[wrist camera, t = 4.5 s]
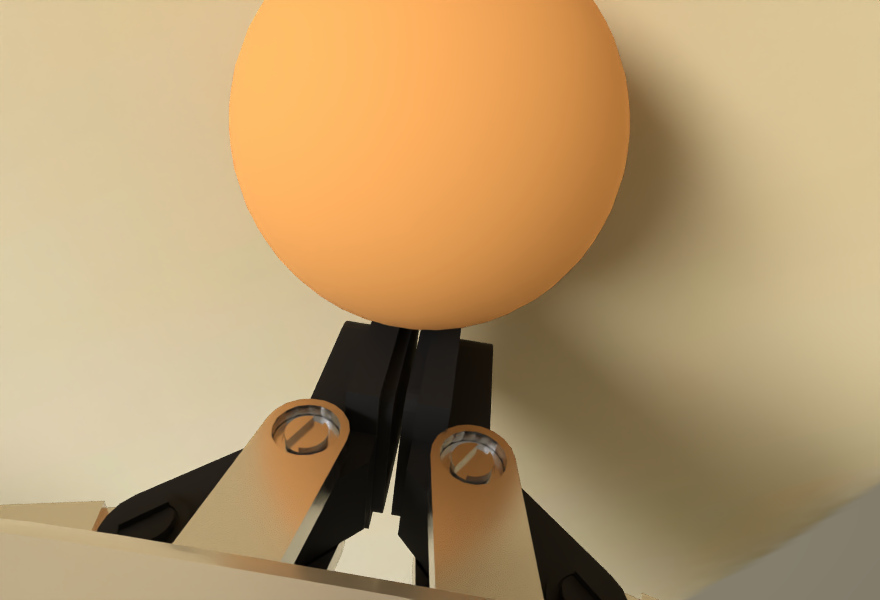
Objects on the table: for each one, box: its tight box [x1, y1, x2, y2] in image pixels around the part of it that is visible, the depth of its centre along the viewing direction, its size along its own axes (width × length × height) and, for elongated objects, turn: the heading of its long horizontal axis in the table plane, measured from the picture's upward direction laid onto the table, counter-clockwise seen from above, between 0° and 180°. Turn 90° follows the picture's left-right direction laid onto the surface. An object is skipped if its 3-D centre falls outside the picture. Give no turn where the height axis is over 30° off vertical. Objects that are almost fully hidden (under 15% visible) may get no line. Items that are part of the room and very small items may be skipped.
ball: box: [229, 0, 630, 330], centre depth 9 cm, size 6×6×6 cm
